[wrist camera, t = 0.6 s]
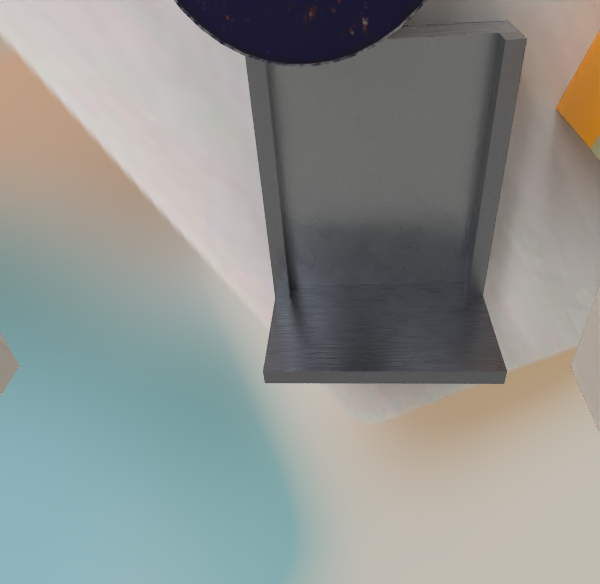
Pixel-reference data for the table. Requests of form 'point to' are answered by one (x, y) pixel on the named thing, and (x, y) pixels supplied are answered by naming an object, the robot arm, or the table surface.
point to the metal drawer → (386, 205)
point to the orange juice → (585, 99)
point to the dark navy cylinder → (300, 27)
